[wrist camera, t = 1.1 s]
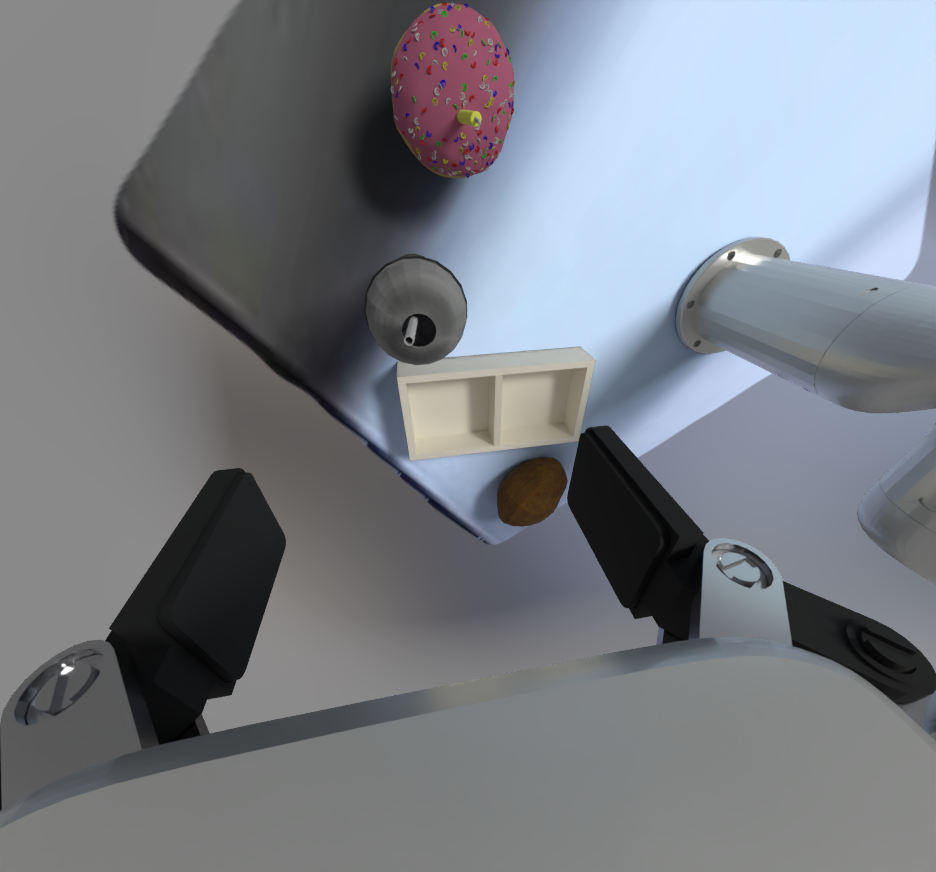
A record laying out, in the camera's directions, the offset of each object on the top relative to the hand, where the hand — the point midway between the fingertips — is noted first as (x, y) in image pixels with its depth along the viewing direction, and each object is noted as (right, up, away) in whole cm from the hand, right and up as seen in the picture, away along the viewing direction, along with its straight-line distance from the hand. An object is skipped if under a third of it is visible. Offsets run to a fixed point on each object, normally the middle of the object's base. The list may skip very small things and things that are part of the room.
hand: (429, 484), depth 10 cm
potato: (+10, -5, +42) cm, 43 cm away
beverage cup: (-4, +17, +24) cm, 29 cm away
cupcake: (-1, +27, +17) cm, 32 cm away
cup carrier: (+4, +6, +32) cm, 33 cm away
